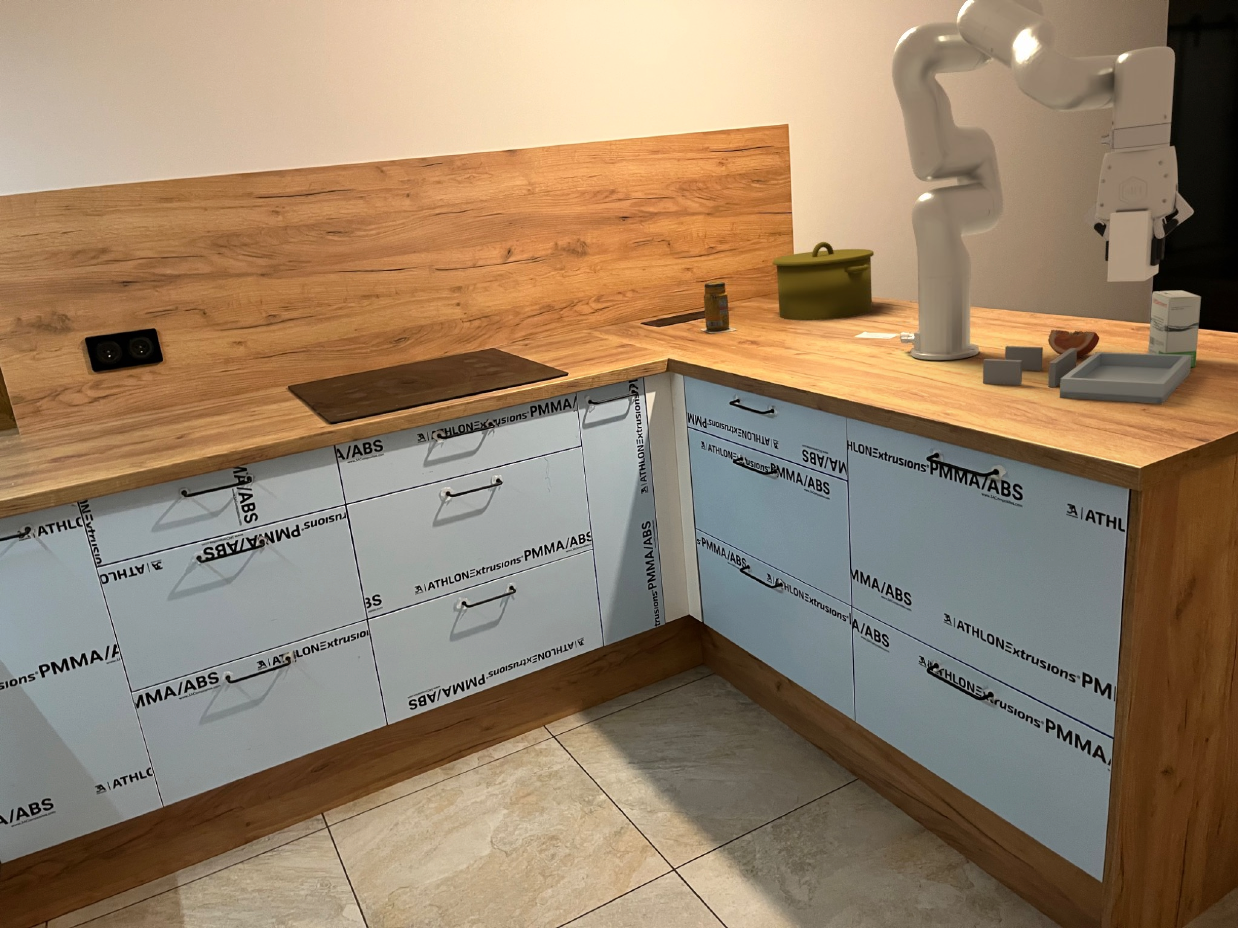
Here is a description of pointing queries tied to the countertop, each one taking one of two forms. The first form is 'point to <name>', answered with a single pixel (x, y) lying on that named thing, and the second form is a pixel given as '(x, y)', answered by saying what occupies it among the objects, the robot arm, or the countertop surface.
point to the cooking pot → (824, 283)
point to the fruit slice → (1073, 341)
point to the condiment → (716, 308)
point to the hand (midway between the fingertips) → (1133, 264)
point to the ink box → (1174, 323)
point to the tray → (1126, 377)
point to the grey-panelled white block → (1130, 245)
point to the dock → (1026, 365)
